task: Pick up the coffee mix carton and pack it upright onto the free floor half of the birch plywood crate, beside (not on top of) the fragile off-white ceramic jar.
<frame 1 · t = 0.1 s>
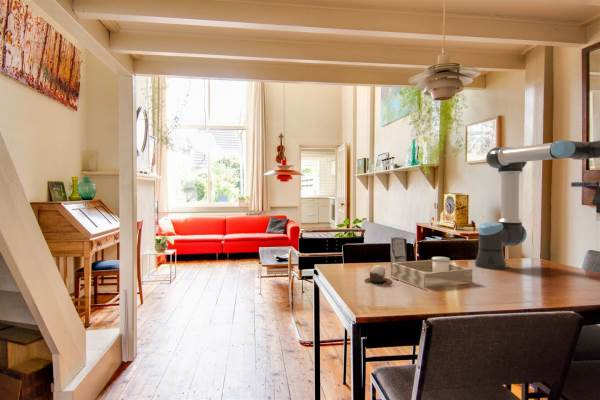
coffee box: (398, 268, 194), on the table
skull: (378, 282, 166), on the table
crate: (429, 281, 166), on the table
ceramic jar: (440, 277, 168), point 1 cm above the table, touching crate
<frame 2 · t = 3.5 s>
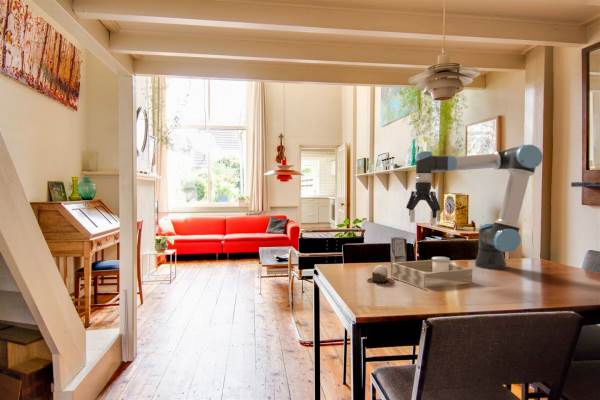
hand: (422, 223, 189), 24 cm above the table, fingers open, 13 cm apart
skull: (380, 282, 166), on the table
everything else where it was.
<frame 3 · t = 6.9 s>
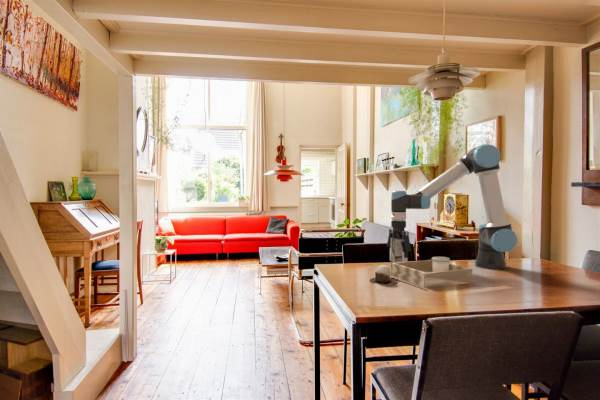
hand: (398, 262, 194), 3 cm above the table, fingers closed on coffee box, 10 cm apart
coffee box: (398, 268, 194), on the table, touching gripper
skull: (383, 282, 166), on the table
everything else where it was.
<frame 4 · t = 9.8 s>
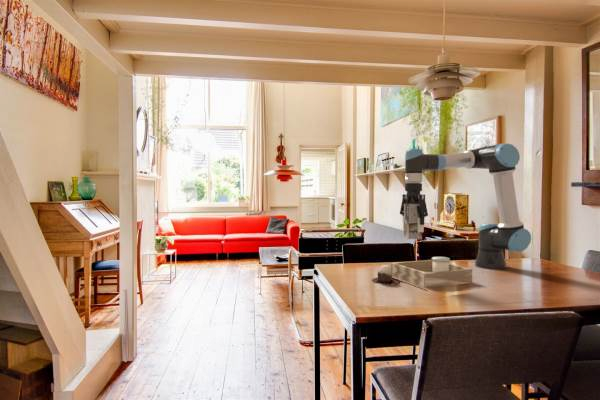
hand: (413, 230, 170), 22 cm above the table, fingers closed on coffee box, 10 cm apart
coffee box: (412, 238, 170), point 19 cm above the table, touching gripper
skull: (385, 282, 166), on the table
everything else where it was.
when the fingers open (6 cm above the table, at t = 13.9 s): coffee box drops 1 cm, resting on crate.
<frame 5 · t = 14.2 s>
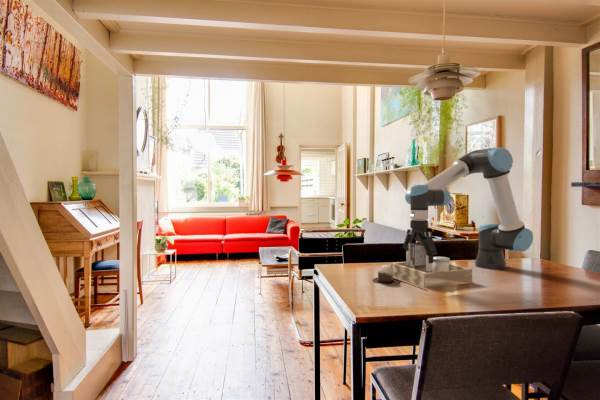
hand: (418, 267, 164), 7 cm above the table, fingers open, 13 cm apart
coffee box: (418, 280, 164), point 1 cm above the table, touching crate
skull: (386, 282, 166), on the table, touching crate
everything else where it was.
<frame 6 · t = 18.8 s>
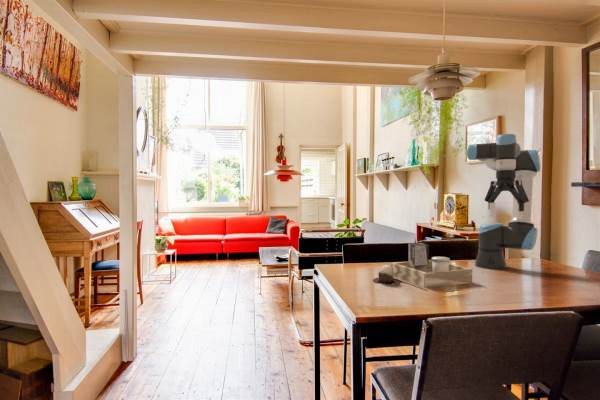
hand: (505, 218, 163), 29 cm above the table, fingers open, 13 cm apart
skull: (386, 282, 166), on the table
everything else where it was.
at the end: coffee box inside the target area on the crate (0.6 cm from its centre), point 1.0 cm above the crate's base; coffee box tilted 0°; ceramic jar moved 0.1 cm from its start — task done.
